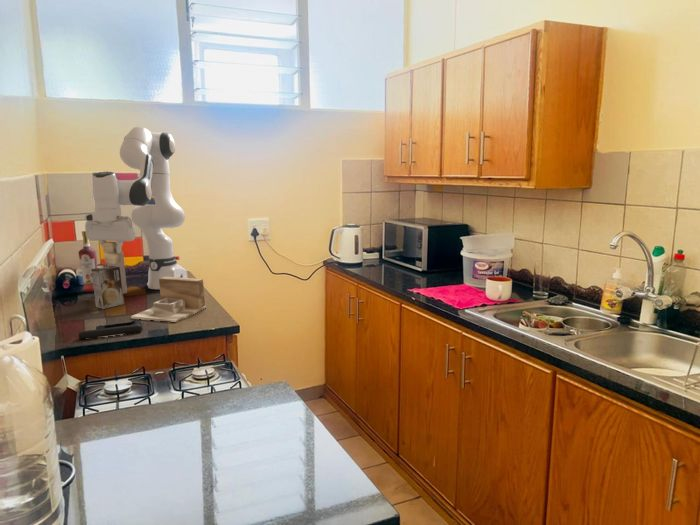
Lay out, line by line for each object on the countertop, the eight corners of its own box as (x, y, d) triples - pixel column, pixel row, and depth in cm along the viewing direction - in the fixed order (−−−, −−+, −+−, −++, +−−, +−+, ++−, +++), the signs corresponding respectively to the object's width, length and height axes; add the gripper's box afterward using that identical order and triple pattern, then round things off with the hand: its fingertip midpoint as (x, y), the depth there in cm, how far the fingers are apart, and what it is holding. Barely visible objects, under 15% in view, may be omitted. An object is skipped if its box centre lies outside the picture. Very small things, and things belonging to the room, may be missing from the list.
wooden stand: (165, 304, 221) (163, 276, 218) (207, 308, 214) (205, 279, 212) (131, 318, 202) (128, 288, 199) (175, 323, 195) (172, 291, 193)
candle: (94, 298, 233) (89, 253, 229) (118, 290, 246) (114, 248, 242) (107, 299, 231) (102, 254, 227) (130, 291, 243) (126, 248, 240)
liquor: (102, 288, 250) (96, 230, 244) (97, 292, 243) (90, 232, 237) (86, 289, 249) (79, 230, 243) (80, 293, 242) (73, 232, 236)
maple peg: (112, 261, 204) (110, 241, 203) (121, 262, 203) (119, 241, 202) (105, 263, 201) (102, 242, 199) (113, 264, 199) (111, 243, 198)
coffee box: (116, 302, 226) (112, 265, 223) (124, 304, 222) (120, 266, 219) (95, 306, 219) (90, 268, 216) (103, 309, 215) (99, 270, 212)
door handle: (81, 323, 190) (77, 333, 176) (140, 315, 198) (142, 325, 184) (82, 332, 191) (78, 343, 176) (141, 324, 199) (143, 334, 184)
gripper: (137, 215, 198) (140, 251, 201) (93, 214, 205) (97, 249, 207) (125, 217, 192) (128, 254, 195) (80, 216, 199) (84, 252, 201)
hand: (112, 252), depth 201 cm, fingers closed on maple peg, 4 cm apart
